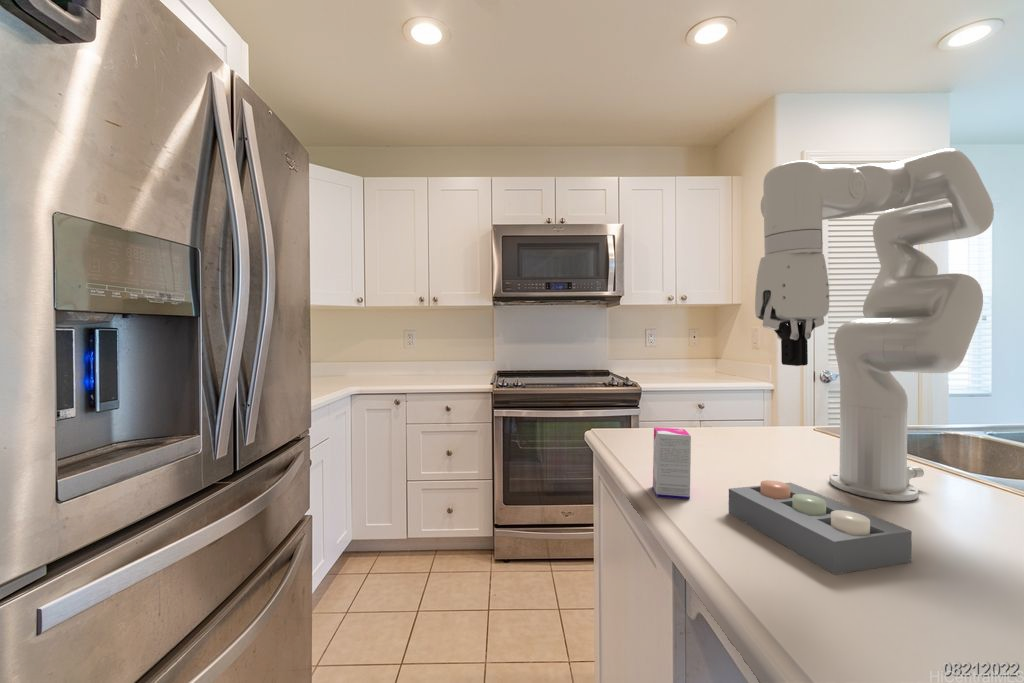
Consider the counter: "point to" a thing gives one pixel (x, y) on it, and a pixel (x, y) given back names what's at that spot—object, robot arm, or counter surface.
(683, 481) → the supplement box
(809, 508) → the sage button
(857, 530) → the cream button
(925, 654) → the counter surface
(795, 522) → the tray
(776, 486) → the terracotta button
